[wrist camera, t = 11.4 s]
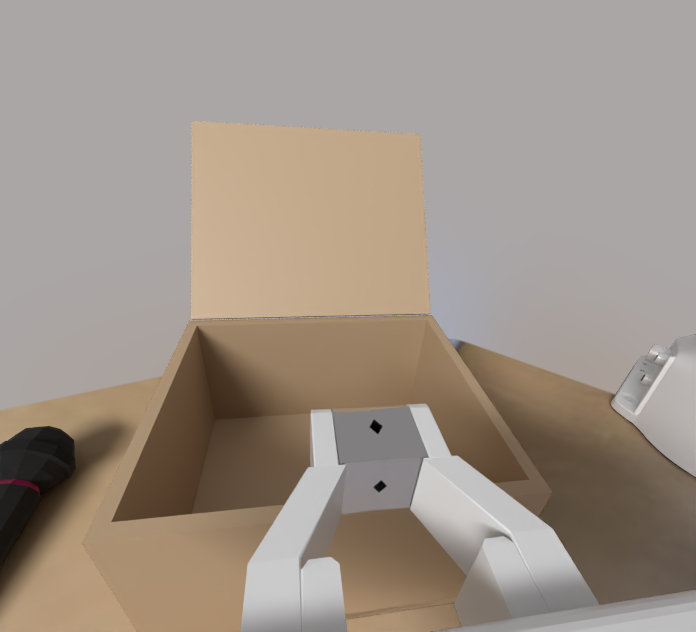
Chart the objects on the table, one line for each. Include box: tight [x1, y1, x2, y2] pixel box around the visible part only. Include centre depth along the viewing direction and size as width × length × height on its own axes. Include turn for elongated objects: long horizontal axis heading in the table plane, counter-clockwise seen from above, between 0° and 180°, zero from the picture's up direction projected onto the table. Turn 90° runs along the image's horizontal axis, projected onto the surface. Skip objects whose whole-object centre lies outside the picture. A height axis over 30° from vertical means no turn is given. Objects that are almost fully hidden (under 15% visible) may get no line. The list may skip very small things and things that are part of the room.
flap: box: [191, 121, 430, 319], centre depth 32 cm, size 18×22×1 cm
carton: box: [82, 315, 553, 632], centre depth 27 cm, size 18×22×12 cm
